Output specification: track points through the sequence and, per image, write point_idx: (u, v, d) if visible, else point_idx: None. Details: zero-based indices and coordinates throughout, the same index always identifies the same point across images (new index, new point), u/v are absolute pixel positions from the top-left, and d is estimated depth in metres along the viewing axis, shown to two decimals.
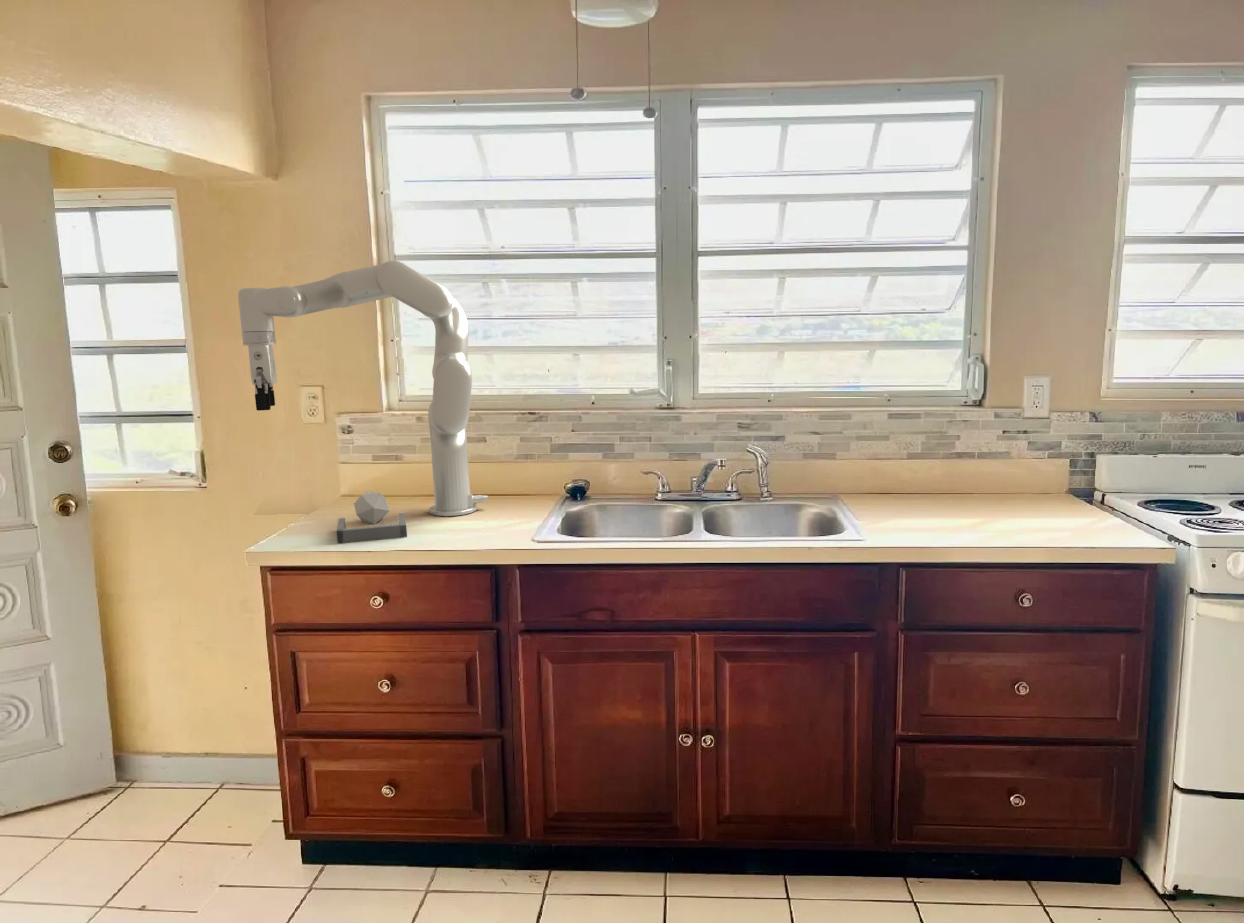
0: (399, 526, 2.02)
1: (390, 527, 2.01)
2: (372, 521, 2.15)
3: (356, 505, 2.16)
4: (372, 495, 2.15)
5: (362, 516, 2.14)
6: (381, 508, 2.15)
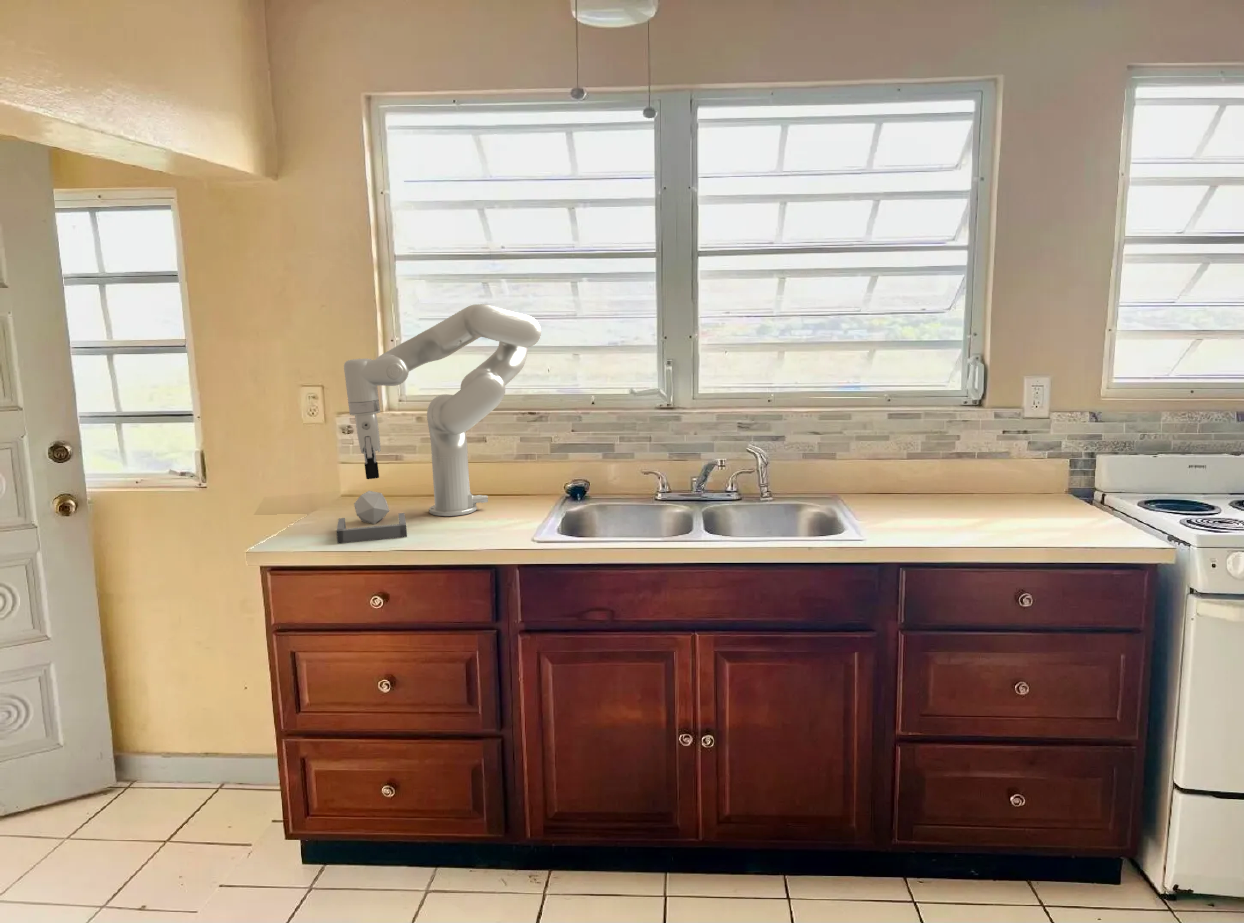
0: (399, 526, 2.02)
1: (390, 527, 2.01)
2: (372, 521, 2.15)
3: (356, 505, 2.16)
4: (372, 495, 2.15)
5: (362, 516, 2.14)
6: (381, 508, 2.15)
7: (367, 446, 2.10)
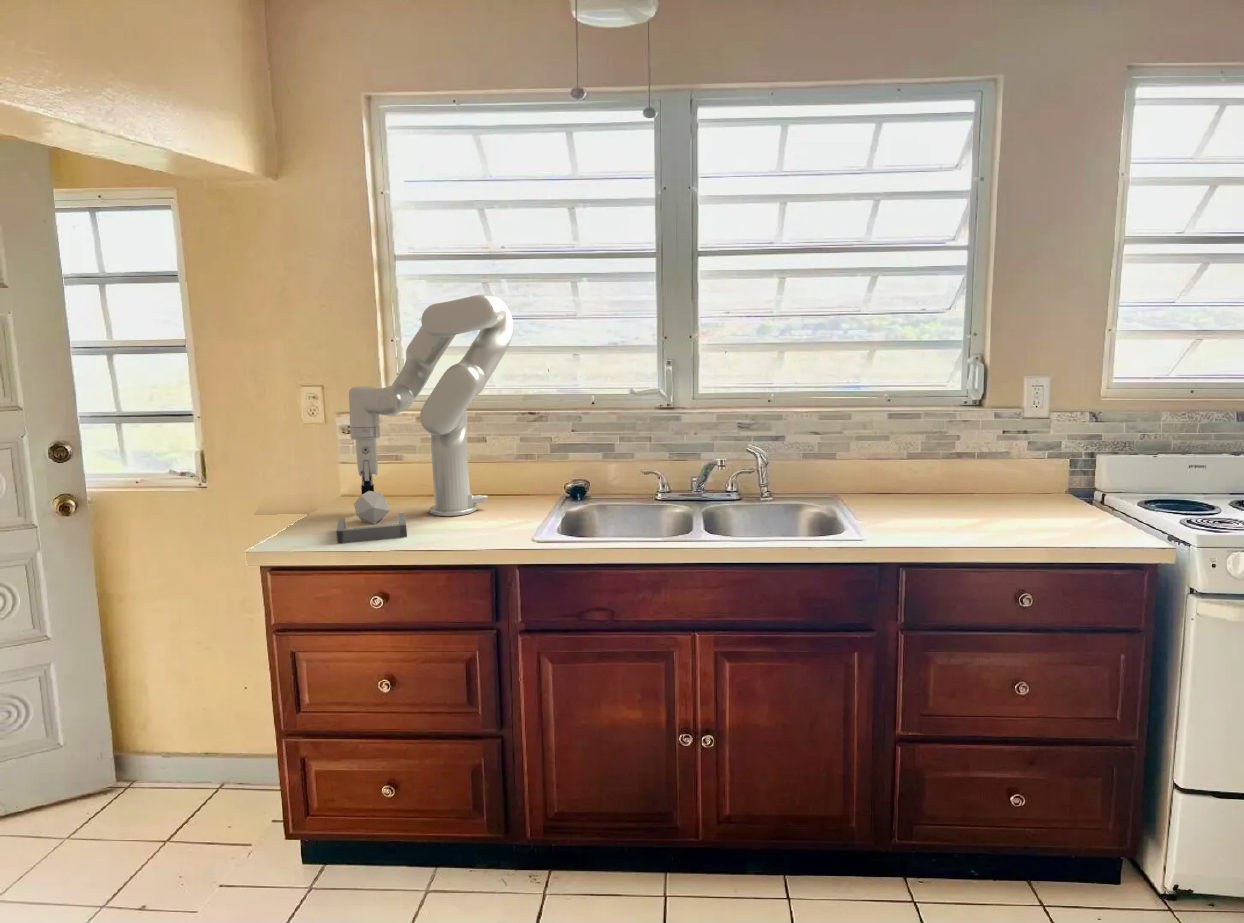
0: (399, 526, 2.02)
1: (390, 527, 2.01)
2: (372, 521, 2.15)
3: (356, 505, 2.16)
4: (372, 495, 2.15)
5: (362, 516, 2.14)
6: (381, 508, 2.15)
7: (365, 469, 2.21)
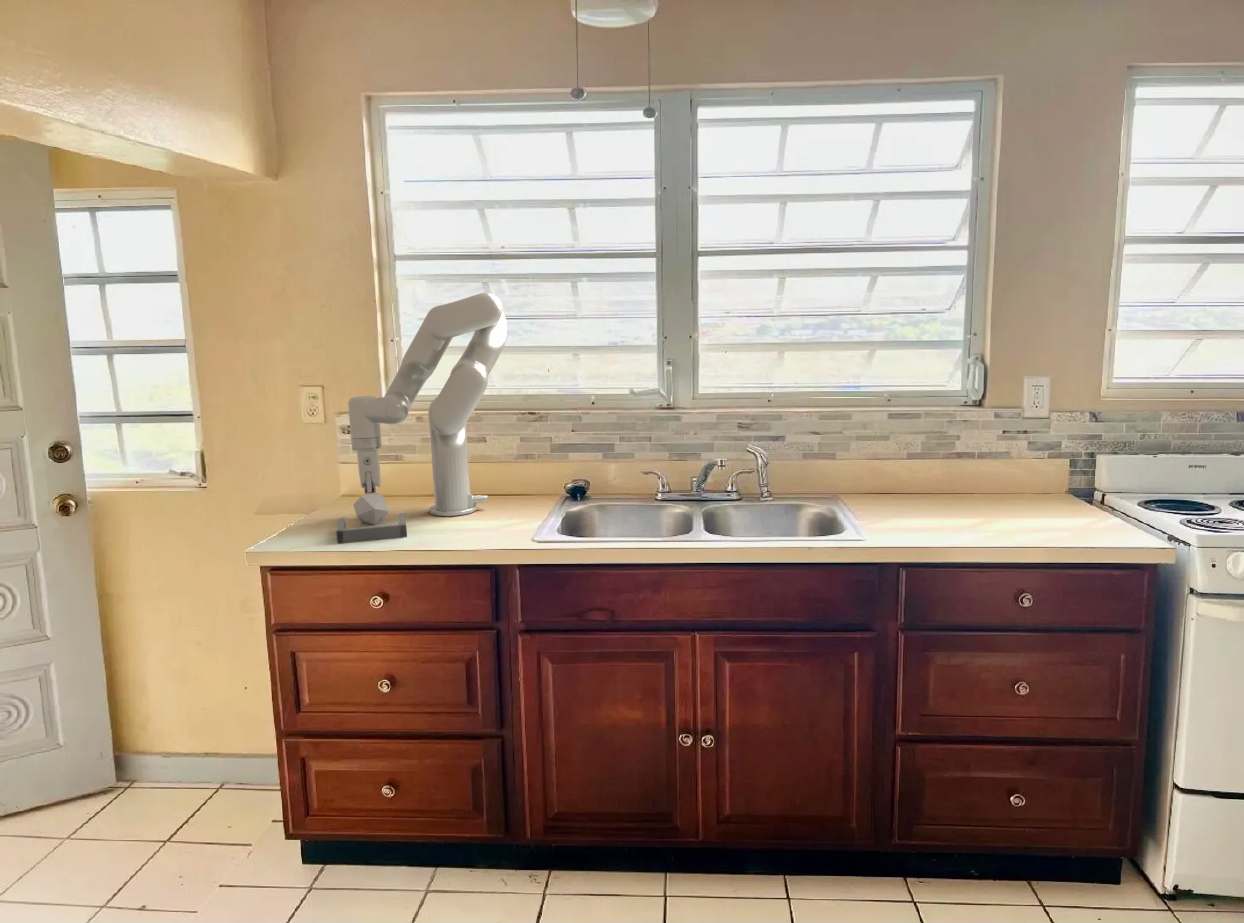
0: (399, 526, 2.02)
1: (390, 527, 2.01)
2: (372, 522, 2.14)
3: (355, 506, 2.15)
4: (372, 496, 2.14)
5: (362, 517, 2.13)
6: (381, 509, 2.14)
7: (367, 481, 2.16)
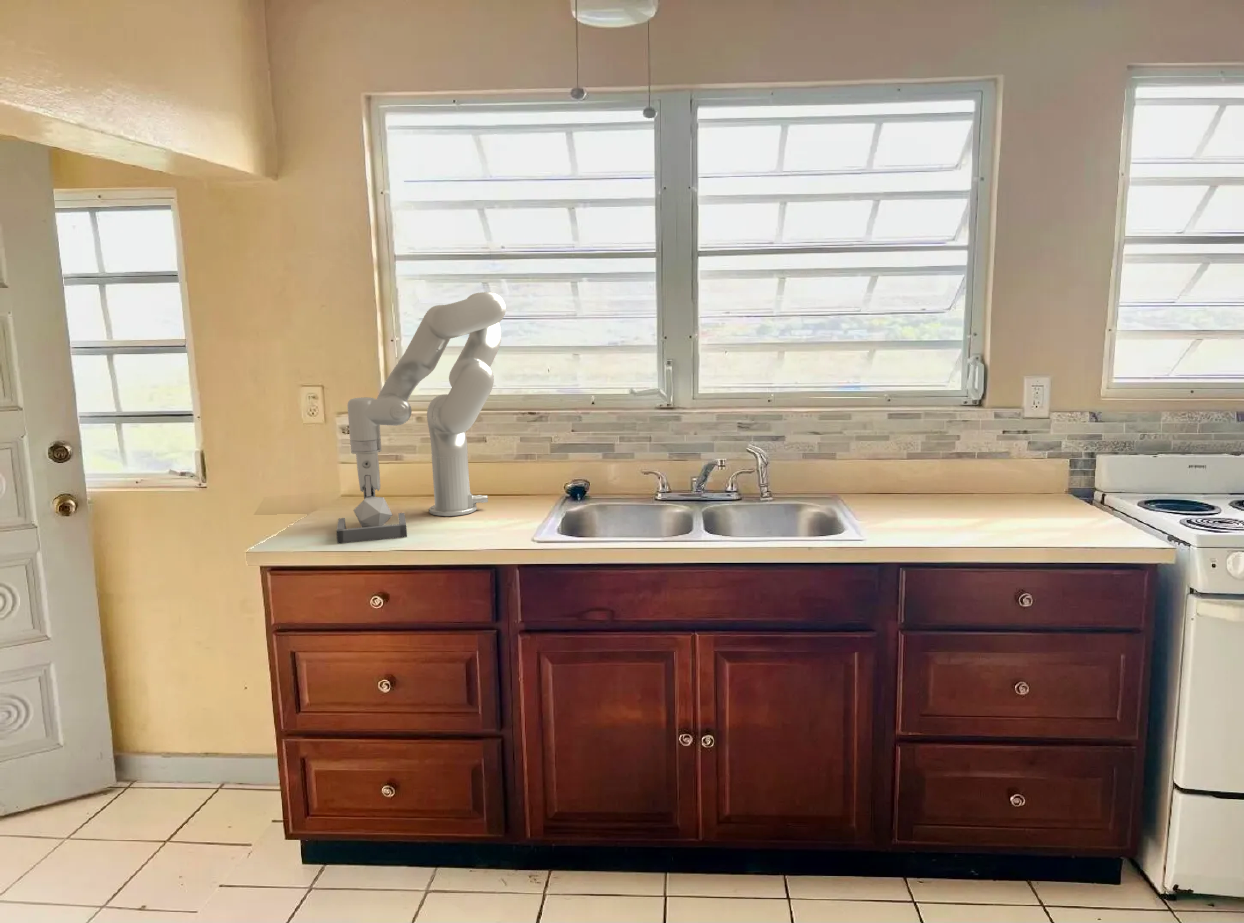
0: (399, 526, 2.02)
1: (390, 527, 2.01)
2: None
3: (357, 511, 2.09)
4: (375, 500, 2.10)
5: (367, 522, 2.08)
6: (386, 513, 2.10)
7: (367, 485, 2.11)
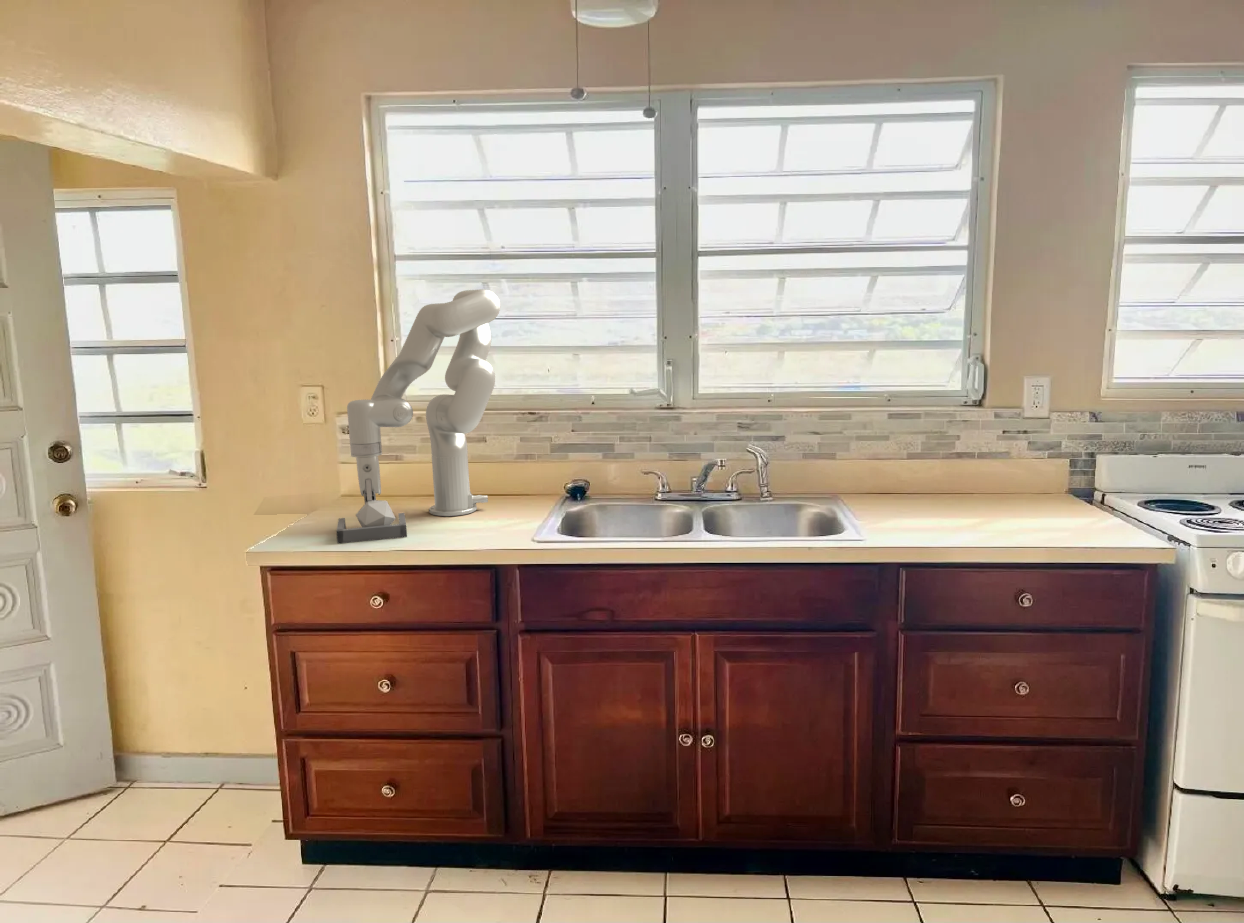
0: (399, 526, 2.02)
1: (390, 527, 2.01)
2: None
3: (360, 515, 2.05)
4: (379, 503, 2.06)
5: (371, 526, 2.04)
6: (390, 516, 2.06)
7: (367, 489, 2.07)
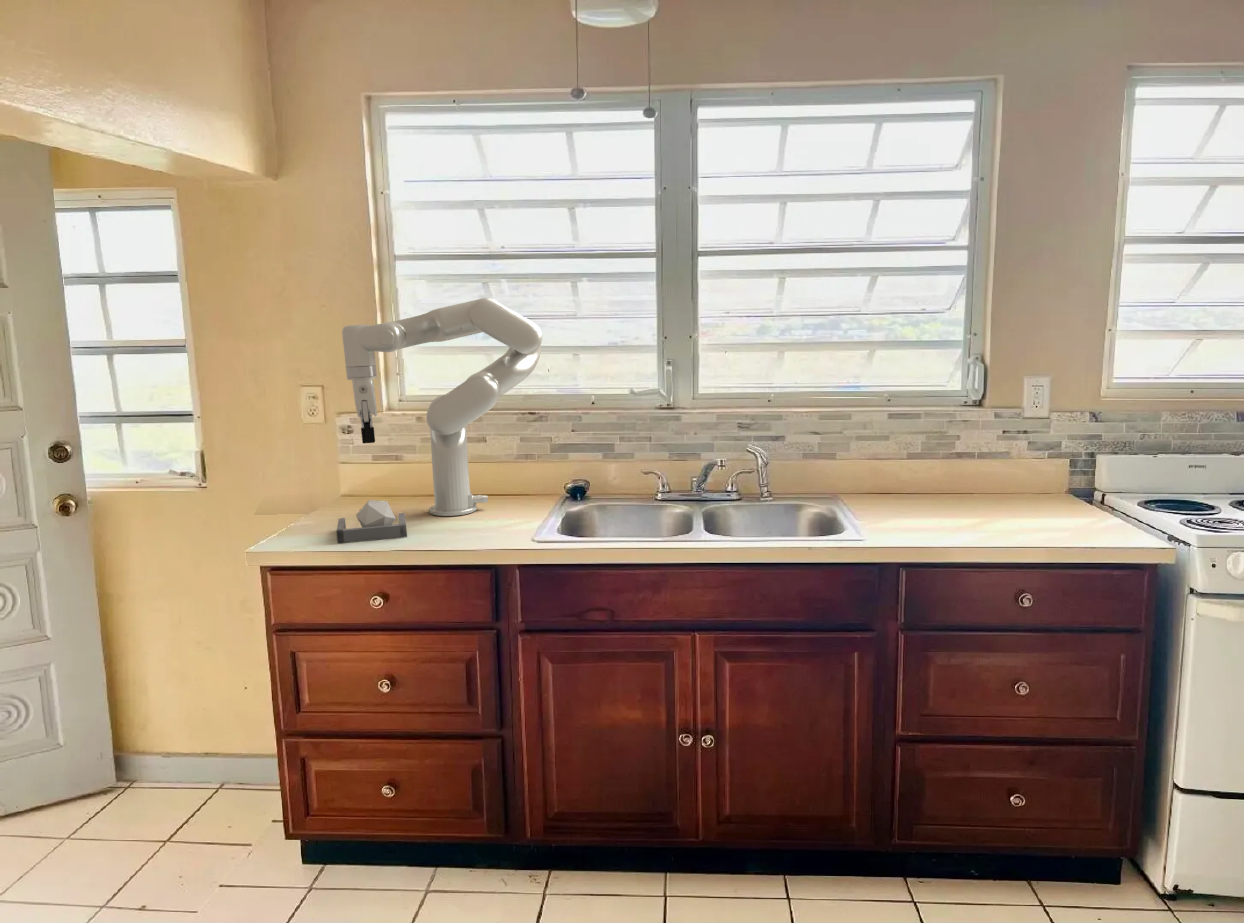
0: (399, 526, 2.02)
1: (390, 527, 2.01)
2: None
3: (361, 516, 2.05)
4: (379, 504, 2.06)
5: (371, 526, 2.04)
6: (390, 517, 2.06)
7: (364, 410, 2.14)
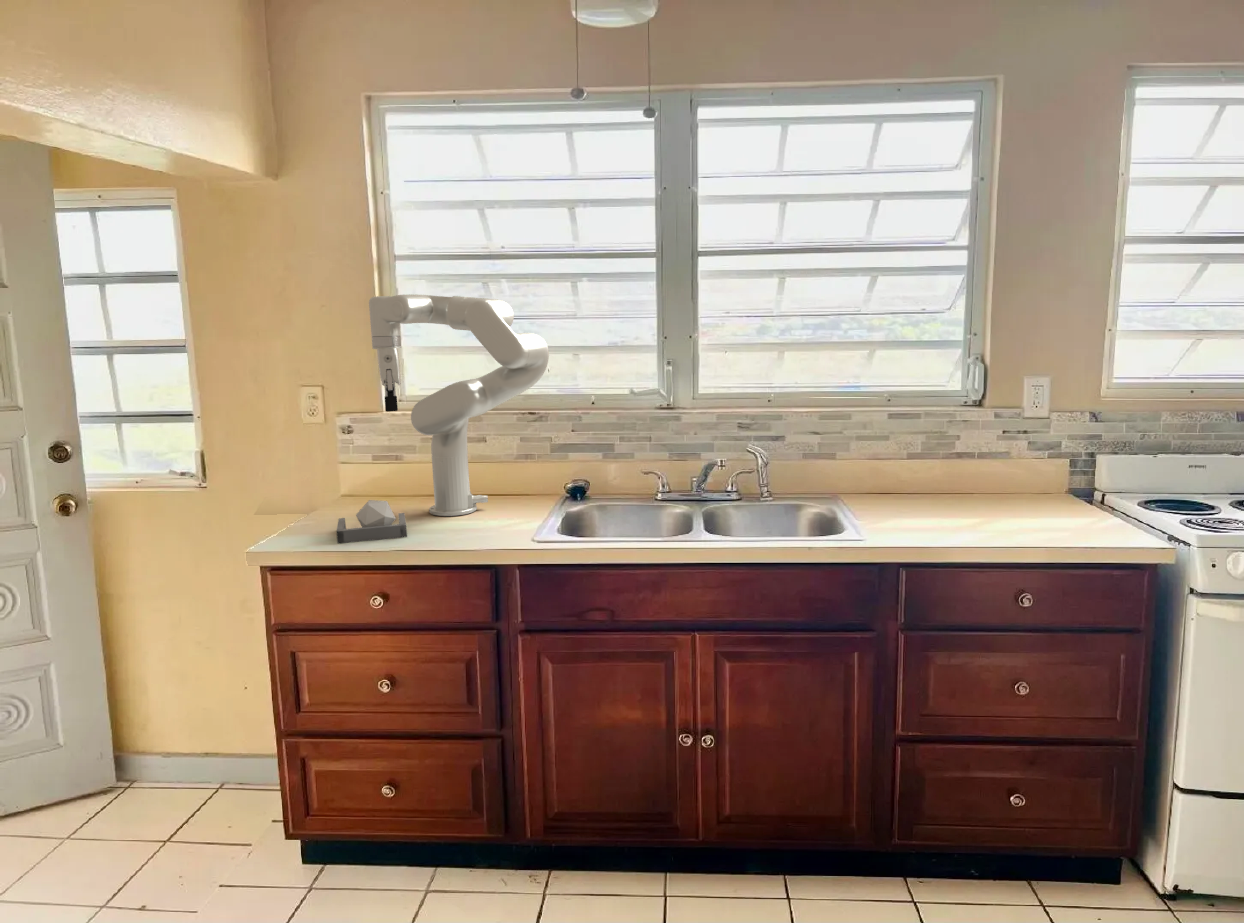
0: (399, 526, 2.02)
1: (390, 527, 2.01)
2: None
3: (361, 516, 2.05)
4: (379, 504, 2.06)
5: (371, 526, 2.04)
6: (390, 517, 2.06)
7: (388, 378, 2.22)
